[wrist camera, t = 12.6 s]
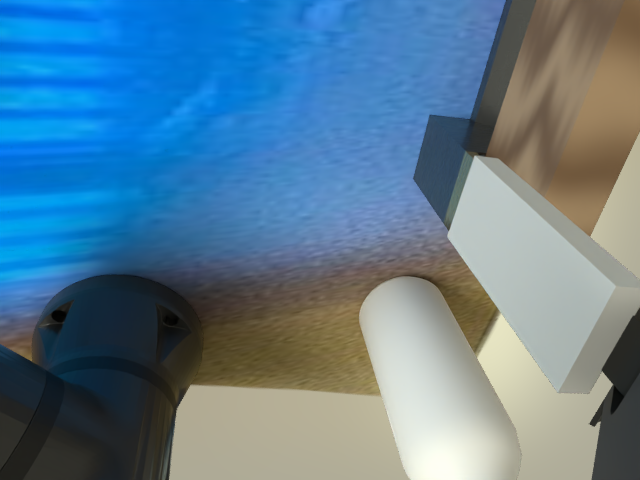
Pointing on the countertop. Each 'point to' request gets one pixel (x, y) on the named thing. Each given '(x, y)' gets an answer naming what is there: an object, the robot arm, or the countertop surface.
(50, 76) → the countertop surface
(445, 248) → the countertop surface
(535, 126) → the rail
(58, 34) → the countertop surface
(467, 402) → the alcohol
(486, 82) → the bracket stand
